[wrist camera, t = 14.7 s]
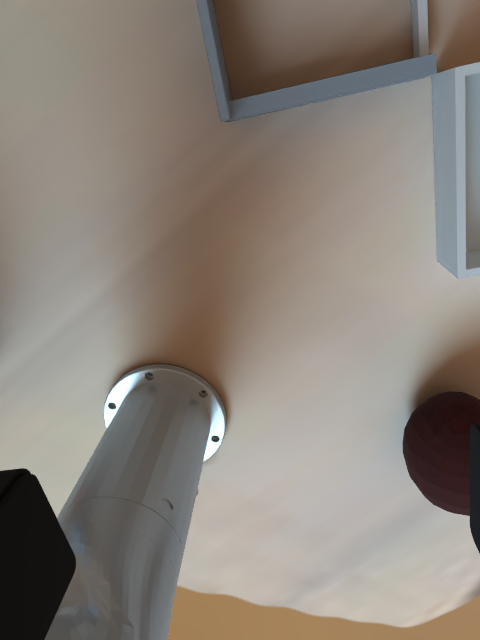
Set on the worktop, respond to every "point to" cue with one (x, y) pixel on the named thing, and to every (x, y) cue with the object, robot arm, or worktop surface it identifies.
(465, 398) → the dark brown oval piece
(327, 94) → the frame
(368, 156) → the worktop surface
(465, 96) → the collection tray
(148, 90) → the worktop surface
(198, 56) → the worktop surface
